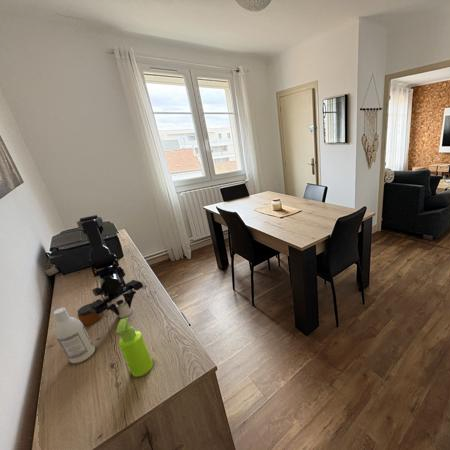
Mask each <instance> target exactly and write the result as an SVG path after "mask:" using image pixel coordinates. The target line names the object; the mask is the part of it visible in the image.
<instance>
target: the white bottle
mask: <svg viewBox="0 0 450 450" xmlns="http://www.w3.org/2000/svg"><path fill="white" fill-rule="evenodd" d="M115 305H116V307H117V309H118V312H119V316H118V318H120V319H124V318H128V316H131V314H132V311H131V308H129V306H128V303H127V302H125V300H124V299H118V300H117V301H116V302H115Z"/></svg>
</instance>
